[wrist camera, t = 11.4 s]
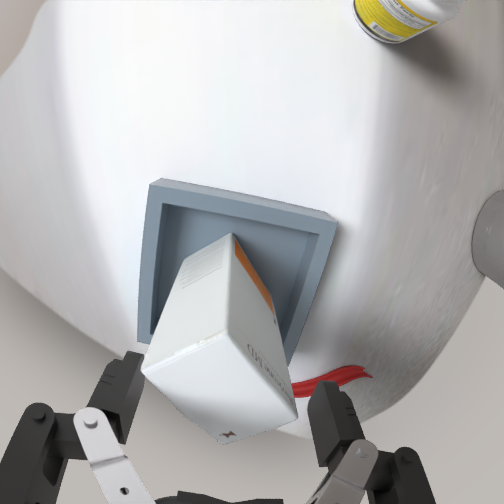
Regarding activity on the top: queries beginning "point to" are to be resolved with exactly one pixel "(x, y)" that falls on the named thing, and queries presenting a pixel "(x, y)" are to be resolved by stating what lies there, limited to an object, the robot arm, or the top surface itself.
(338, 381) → the cayenne pepper
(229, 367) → the skincare box
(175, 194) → the tray
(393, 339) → the top surface
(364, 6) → the supplement bottle
